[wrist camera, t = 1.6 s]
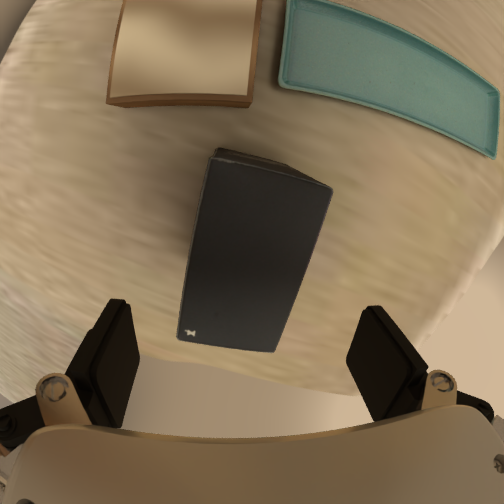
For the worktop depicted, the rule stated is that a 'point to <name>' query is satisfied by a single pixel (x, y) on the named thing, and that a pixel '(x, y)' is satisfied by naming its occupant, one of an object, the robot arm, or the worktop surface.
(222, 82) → the brown rectangular tray
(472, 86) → the shallow long dish
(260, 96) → the worktop surface
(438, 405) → the robot arm
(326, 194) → the small box
